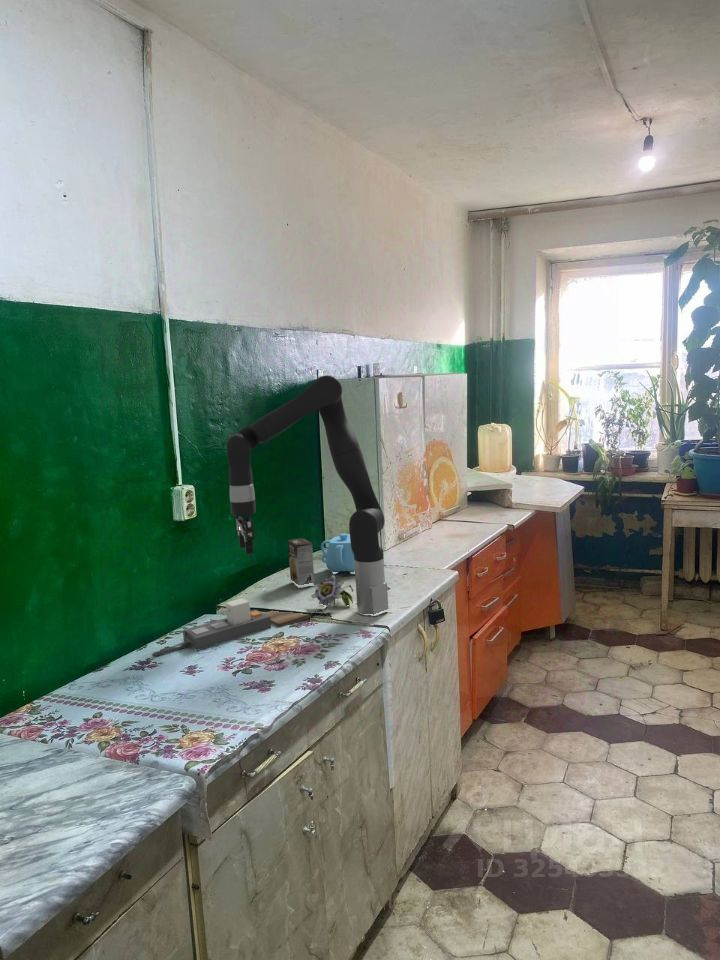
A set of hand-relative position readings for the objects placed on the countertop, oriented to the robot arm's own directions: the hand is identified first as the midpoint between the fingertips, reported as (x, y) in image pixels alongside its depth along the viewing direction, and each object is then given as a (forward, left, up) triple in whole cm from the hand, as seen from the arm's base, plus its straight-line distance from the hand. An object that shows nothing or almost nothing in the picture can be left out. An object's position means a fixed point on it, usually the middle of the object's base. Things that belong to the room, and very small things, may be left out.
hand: (246, 550), depth 212 cm
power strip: (-6, +17, -22) cm, 29 cm away
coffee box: (+19, -30, -23) cm, 42 cm away
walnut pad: (-6, -8, -22) cm, 25 cm away
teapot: (+20, -52, -23) cm, 60 cm away
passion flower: (-8, -25, -23) cm, 35 cm away
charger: (-6, +9, -20) cm, 23 cm away
